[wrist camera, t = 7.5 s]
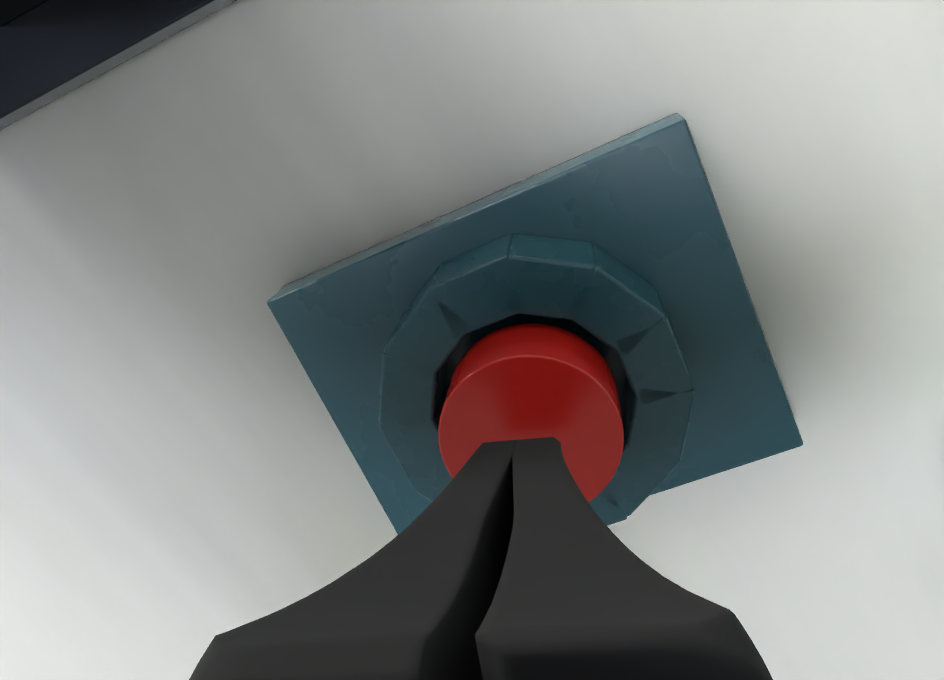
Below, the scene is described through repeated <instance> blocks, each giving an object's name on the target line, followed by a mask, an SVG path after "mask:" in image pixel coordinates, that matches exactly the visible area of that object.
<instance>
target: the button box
mask: <svg viewBox="0 0 944 680" xmlns="http://www.w3.org/2000/svg"><path fill="white" fill-rule="evenodd" d="M267 303H268V306H269V308H270V309H271V311H272V313H273V315H274V316H275V318H276V320H277V322H278V323H279V325H280V327H281V329H282V330H283V332H284V334H285V336H286V338H287V339H288V341H289V343H290V345H291V346H292V348H293V350H294V352H295V353H296V355H297V357H298V359H299V360H300V362H301V364H302V366H303V368H304V369H305V371H306V373H307V375H308V376H309V378H310V380H311V382H312V383H313V385H314V387H315V389H316V391H317V392H318V394H319V396H320V398H321V399H322V401H323V403H324V405H325V406H326V408H327V410H328V412H329V413H330V415H331V417H332V419H333V421H334V422H335V424H336V426H337V428H338V429H339V431H340V433H341V435H342V436H343V438H344V440H345V442H346V443H347V445H348V447H349V449H350V451H351V452H352V454H353V456H354V458H355V459H356V461H357V463H358V465H359V466H360V468H361V470H362V472H363V473H364V475H365V477H366V479H367V481H368V482H369V484H370V486H371V488H372V489H373V491H374V493H375V495H376V496H377V498H378V500H379V502H380V504H381V505H382V507H383V509H384V511H385V512H386V514H387V516H388V518H389V519H390V521H391V523H392V525H393V526H394V528H395V530H396V532H397V534H398V535H399V534H400V533H401V532H402V531H404V530H405V529H406V528H407V527H408V526H409V525H410V524H411V523H412V522H413V521H414V520H415V519H416V518H417V517H418V516H419V515H420V514H421V513H422V512H423V511H424V510H425V509H426V508H427V507H428V506H429V505H430V504H431V503H432V502H433V501H434V500H435V499H436V498H437V496H438V495H439V494H440V493H441V492H442V491H443V490H444V488H445V487H446V486H447V485H448V484H449V483H450V482H451V480H452V479H453V478H452V477H451V475H450V473H449V472H448V470H447V468H446V466H445V464H444V461H443V459H442V456H441V452H440V448H439V441H438V427H439V420H440V416H441V412H442V409H443V406H444V402H445V399H446V396H447V392H448V389H449V386H450V382H451V379H452V376H453V373H454V371H455V369H456V367H457V364H458V363H459V361H460V360H461V358H462V357H463V355H464V354H465V353H466V352H467V351H468V350H469V348H470V347H471V346H473V345H474V344H475V343H476V342H477V341H478V340H480V339H482V338H483V337H485V336H486V335H488V334H490V333H492V332H494V331H496V330H498V329H501V328H505V327H508V326H512V325H517V324H528V323H536V324H546V325H552V326H556V327H559V328H562V329H565V330H568V331H570V332H572V333H574V334H576V335H578V336H579V337H581V338H583V339H584V340H586V341H587V342H588V343H589V344H591V345H592V346H593V347H594V348H595V349H596V350H597V351H598V352H599V353H600V354H601V355H602V357H603V358H604V359H605V361H606V362H607V364H608V365H609V367H610V369H611V371H612V373H613V376H614V379H615V382H616V386H617V391H618V397H619V404H620V410H621V417H622V424H623V432H624V445H623V453H622V457H621V460H620V463H619V466H618V468H617V470H616V473H615V474H614V476H613V477H612V479H611V481H610V482H609V483H608V485H607V486H606V487H605V488H604V489H603V491H602V492H600V493H599V494H598V495H597V496H596V497H595V498H594V499H592V500H591V501H590V502H588V503H589V504H590V505H591V507H592V508H593V509H594V511H595V512H596V513H597V515H598V516H599V517H600V519H601V520H602V521H603V522H604V523H605V525H606V526H607V525H610V524H613V523H616V522H619V521H622V520H625V519H627V517H628V516H630V515H631V514H632V513H633V511H634V510H635V509H636V508H637V507H638V506H639V505H640V504H641V503H642V502H643V501H644V500H645V499H646V498H647V497H648V496H649V495H652V494H655V493H658V492H661V491H665V490H668V489H671V488H674V487H677V486H680V485H683V484H686V483H689V482H692V481H695V480H698V479H701V478H704V477H708V476H711V475H714V474H717V473H720V472H723V471H726V470H729V469H732V468H735V467H738V466H741V465H744V464H747V463H751V462H754V461H757V460H760V459H763V458H766V457H769V456H772V455H775V454H778V453H781V452H784V451H787V450H790V449H794V448H797V447H800V446H802V445H803V441H802V438H801V435H800V433H799V430H798V427H797V424H796V422H795V419H794V416H793V413H792V411H791V408H790V405H789V402H788V400H787V397H786V394H785V391H784V389H783V386H782V383H781V380H780V378H779V375H778V372H777V369H776V367H775V364H774V361H773V358H772V356H771V353H770V350H769V347H768V345H767V342H766V339H765V336H764V334H763V331H762V328H761V325H760V323H759V320H758V317H757V314H756V312H755V309H754V306H753V303H752V301H751V298H750V295H749V292H748V290H747V287H746V284H745V281H744V279H743V276H742V273H741V270H740V268H739V265H738V262H737V259H736V257H735V254H734V251H733V248H732V246H731V243H730V240H729V237H728V235H727V232H726V229H725V226H724V224H723V221H722V218H721V215H720V213H719V210H718V207H717V204H716V202H715V199H714V196H713V193H712V191H711V188H710V185H709V182H708V180H707V177H706V174H705V171H704V169H703V166H702V163H701V160H700V158H699V155H698V152H697V149H696V147H695V144H694V141H693V138H692V136H691V133H690V130H689V127H688V125H687V122H686V120H685V119H683V118H682V117H681V116H680V115H679V114H678V113H676V114H673V115H671V116H668V117H666V118H664V119H662V120H659V121H657V122H655V123H653V124H650V125H648V126H646V127H644V128H641V129H639V130H637V131H634V132H632V133H630V134H628V135H625V136H623V137H621V138H619V139H616V140H614V141H612V142H609V143H607V144H605V145H603V146H600V147H598V148H596V149H594V150H591V151H589V152H587V153H584V154H582V155H580V156H578V157H575V158H573V159H571V160H569V161H566V162H564V163H562V164H560V165H557V166H555V167H553V168H550V169H548V170H546V171H544V172H541V173H539V174H537V175H535V176H532V177H530V178H528V179H525V180H523V181H521V182H519V183H516V184H514V185H512V186H510V187H507V188H505V189H503V190H500V191H498V192H496V193H494V194H491V195H489V196H487V197H485V198H482V199H480V200H478V201H476V202H473V203H471V204H469V205H466V206H464V207H462V208H460V209H457V210H455V211H453V212H451V213H448V214H446V215H444V216H441V217H439V218H437V219H435V220H432V221H430V222H428V223H426V224H423V225H421V226H419V227H417V228H414V229H412V230H410V231H407V232H405V233H403V234H401V235H398V236H396V237H394V238H392V239H389V240H387V241H385V242H382V243H380V244H378V245H376V246H373V247H371V248H369V249H367V250H364V251H362V252H360V253H357V254H355V255H353V256H351V257H348V258H346V259H344V260H342V261H339V262H337V263H335V264H333V265H330V266H328V267H326V268H323V269H321V270H319V271H317V272H314V273H312V274H310V275H308V276H305V277H303V278H301V279H298V280H296V281H294V282H292V283H289V284H287V285H285V286H283V287H282V288H281V289H280V290H279V291H278V292H277V293H276V294H275V295H274V296H273V297H272V298H271V299H270V300H269V301H268V302H267Z"/></svg>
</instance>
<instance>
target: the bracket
mask: <svg viewBox="0 0 944 680" xmlns="http://www.w3.org/2000/svg"><path fill="white" fill-rule="evenodd" d="M234 1H236V0H0V130H1V129H3V128H5V127H7V126H9V125H11V124H12V123H14V122H16V121H18V120H20V119H22V118H23V117H25V116H27V115H29V114H31V113H32V112H34V111H36V110H38V109H40V108H42V107H43V106H45V105H47V104H49V103H51V102H52V101H54V100H56V99H58V98H60V97H62V96H63V95H65V94H67V93H69V92H71V91H72V90H74V89H76V88H78V87H80V86H82V85H83V84H85V83H87V82H89V81H91V80H93V79H94V78H96V77H98V76H100V75H102V74H103V73H105V72H107V71H109V70H111V69H113V68H114V67H116V66H118V65H120V64H122V63H123V62H125V61H127V60H129V59H131V58H133V57H134V56H136V55H138V54H140V53H142V52H143V51H145V50H147V49H149V48H151V47H153V46H154V45H156V44H158V43H160V42H162V41H163V40H165V39H167V38H169V37H171V36H173V35H174V34H176V33H178V32H180V31H182V30H184V29H185V28H187V27H189V26H191V25H193V24H194V23H196V22H198V21H200V20H202V19H204V18H205V17H207V16H209V15H211V14H213V13H214V12H216V11H218V10H220V9H222V8H224V7H225V6H227V5H229V4H231V3H233V2H234Z"/></svg>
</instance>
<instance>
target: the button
mask: <svg viewBox="0 0 944 680" xmlns="http://www.w3.org/2000/svg"><path fill="white" fill-rule="evenodd" d="M543 437H555V438H556V439H557V440H558V441H560V442H561V448H562V455H563V458H564V460H565V463H566V465H567V467H568V469H569V471H570V473H571V475H572V477H573V479H574V481H575V482H576V484H577V485H578V487H579V489H580V490H581V492H582V494H583V495H584V497H585V498H586V500H587V501H588V502H590V501H591V500H592V499H594V498H595V497H596V496H597V495H598V494H599V493H600V492H602V491H603V489H604V488H605V487H606V486H607V485H608V483H609V482H610V481H611V479H612V477H613V476H614V474H615V473H616V470H617V468H618V466H619V463H620V460H621V457H622V453H623V445H624V432H623V424H622V417H621V410H620V404H619V397H618V391H617V386H616V382H615V379H614V376H613V373H612V371H611V369H610V367H609V365H608V364H607V362H606V361H605V359H604V358H603V357H602V355H601V354H600V353H599V352H598V351H597V350H596V349H595V348H594V347H593V346H592V345H591V344H589V343H588V342H587V341H586V340H584V339H583V338H581V337H579V336H578V335H576V334H574V333H572V332H570V331H568V330H565V329H562V328H559V327H556V326H552V325H546V324H536V323H528V324H517V325H512V326H508V327H505V328H501V329H498V330H496V331H494V332H492V333H490V334H488V335H486V336H485V337H483V338H482V339H480V340H478V341H477V342H476V343H475V344H474V345H473V346H471V347H470V348H469V350H468V351H467V352H466V353H465V354H464V355H463V357H462V358H461V360H460V361H459V363H458V364H457V367H456V369H455V371H454V373H453V376H452V379H451V382H450V386H449V389H448V392H447V396H446V399H445V402H444V406H443V409H442V412H441V416H440V420H439V427H438V441H439V448H440V452H441V456H442V459H443V461H444V464H445V466H446V468H447V470H448V472H449V473H450V475H451V477H452V478H454V477H455V475H456V474H457V473H458V472H459V471H460V469H461V468H462V467H463V466H464V464H465V463H466V462H467V461H468V459H469V458H470V457H471V456H472V454H473V453H474V452H475V451H476V450H477V449H478V448H479V446H480V445H481V444H482V443H483V442H495V441H507V440H519V439H531V438H543Z"/></svg>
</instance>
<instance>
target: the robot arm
mask: <svg viewBox="0 0 944 680" xmlns="http://www.w3.org/2000/svg"><path fill="white" fill-rule="evenodd" d="M189 680H773V679H772V677H771V675H770V673H769V671H768V669H767V667H766V665H765V663H764V661H763V659H762V657H761V656H760V654H759V652H758V650H757V649H756V647H755V645H754V644H753V642H752V640H751V639H750V637H749V636H748V634H747V632H746V631H745V629H744V628H743V626H742V625H741V623H740V622H739V620H738V619H737V617H736V616H735V614H734V613H733V612H732V611H730V610H729V609H727V608H724V607H722V606H720V605H718V604H715V603H713V602H711V601H709V600H707V599H704V598H702V597H700V596H698V595H695V594H693V593H691V592H689V591H687V590H685V589H684V588H682V587H680V586H678V585H677V584H675V583H673V582H672V581H670V580H668V579H667V578H665V577H663V576H662V575H661V574H659V573H658V572H657V571H655V570H654V569H652V568H651V567H650V566H648V565H647V564H646V563H644V562H643V561H642V560H641V559H639V558H638V557H637V556H636V555H635V554H634V553H633V552H632V551H631V550H629V549H628V548H627V547H626V546H625V545H624V544H623V543H622V542H621V541H620V540H619V539H618V538H617V537H616V536H615V535H614V534H613V533H612V531H611V530H610V529H609V528H608V527H607V526H606V525H605V523H604V522H603V521H602V520H601V519H600V517H599V516H598V515H597V513H596V512H595V511H594V509H593V508H592V507H591V505H590V504H589V503H588V501H587V500H586V498H585V497H584V495H583V494H582V492H581V490H580V489H579V487H578V485H577V484H576V482H575V481H574V479H573V477H572V475H571V473H570V471H569V469H568V467H567V465H566V463H565V460H564V458H563V455H562V448H561V442H560V441H558V440H557V439H556V438H555V437H543V438H531V439H519V440H507V441H495V442H483V443H482V444H481V445H480V446H479V448H478V449H477V450H476V451H475V452H474V453H473V454H472V456H471V457H470V458H469V459H468V461H467V462H466V463H465V464H464V466H463V467H462V468H461V469H460V471H459V472H458V473H457V474H456V475H455V477H454V478H453V479H452V480H451V482H450V483H449V484H448V485H447V486H446V487H445V488H444V490H443V491H442V492H441V493H440V494H439V495H438V496H437V498H436V499H435V500H434V501H433V502H432V503H431V504H430V505H429V506H428V507H427V508H426V509H425V510H424V511H423V512H422V513H421V514H420V515H419V516H418V517H417V518H416V519H415V520H414V521H413V522H412V523H411V524H410V525H409V526H408V527H407V528H406V529H405V530H404V531H402V532H401V533H400V534H399V535H398V536H397V537H395V538H394V539H393V540H392V541H391V542H389V543H388V544H387V545H386V546H384V547H383V548H382V549H380V550H379V551H378V552H377V553H375V554H374V555H373V556H371V557H370V558H369V559H367V560H366V561H364V562H363V563H361V564H360V565H358V566H357V567H355V568H354V569H352V570H350V571H349V572H347V573H346V574H344V575H343V576H341V577H340V578H338V579H337V580H335V581H334V582H332V583H330V584H329V585H327V586H325V587H324V588H322V589H320V590H318V591H316V592H314V593H313V594H311V595H309V596H307V597H305V598H303V599H301V600H299V601H297V602H295V603H293V604H291V605H289V606H287V607H285V608H283V609H281V610H279V611H277V612H274V613H272V614H270V615H268V616H265V617H263V618H260V619H258V620H255V621H253V622H250V623H248V624H245V625H243V626H240V627H238V628H235V629H233V630H230V631H228V632H225V633H222V634H219V635H216V636H215V638H214V639H213V641H212V642H211V644H210V645H209V647H208V648H207V650H206V652H205V653H204V655H203V656H202V658H201V659H200V661H199V663H198V664H197V666H196V668H195V670H194V672H193V674H192V676H191V677H190V679H189Z"/></svg>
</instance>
